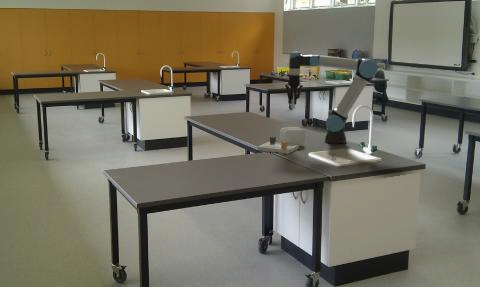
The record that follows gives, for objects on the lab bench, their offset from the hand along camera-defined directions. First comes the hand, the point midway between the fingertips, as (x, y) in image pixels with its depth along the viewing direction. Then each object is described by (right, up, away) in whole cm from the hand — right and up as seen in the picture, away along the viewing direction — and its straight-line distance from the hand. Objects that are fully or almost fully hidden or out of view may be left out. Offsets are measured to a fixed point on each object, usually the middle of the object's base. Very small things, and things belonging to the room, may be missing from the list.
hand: (293, 108), depth 367 cm
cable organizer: (-1, -25, 0) cm, 25 cm away
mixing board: (-12, -28, -15) cm, 34 cm away
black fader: (-15, -24, -8) cm, 29 cm away
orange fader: (-8, -27, -23) cm, 37 cm away
